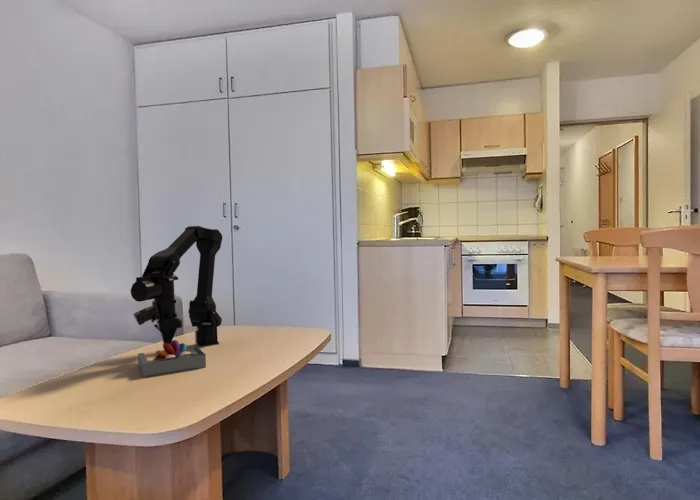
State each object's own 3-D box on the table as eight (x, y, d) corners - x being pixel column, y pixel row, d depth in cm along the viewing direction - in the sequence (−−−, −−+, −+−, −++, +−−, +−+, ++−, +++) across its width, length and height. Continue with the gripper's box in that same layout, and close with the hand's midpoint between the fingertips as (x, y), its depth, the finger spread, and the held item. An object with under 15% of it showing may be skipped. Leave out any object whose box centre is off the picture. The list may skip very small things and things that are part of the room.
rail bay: (196, 356, 139) (195, 345, 139) (205, 367, 127) (205, 354, 127) (138, 365, 131) (137, 353, 131) (143, 377, 119) (142, 363, 119)
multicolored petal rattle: (149, 367, 129) (148, 342, 129) (181, 359, 136) (180, 335, 136) (164, 372, 124) (163, 345, 123) (196, 364, 131) (195, 339, 131)
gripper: (131, 296, 141) (134, 346, 141) (138, 303, 125) (141, 359, 125) (170, 292, 146) (172, 341, 147) (181, 298, 130) (183, 353, 131)
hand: (167, 348), depth 137 cm, fingers closed
